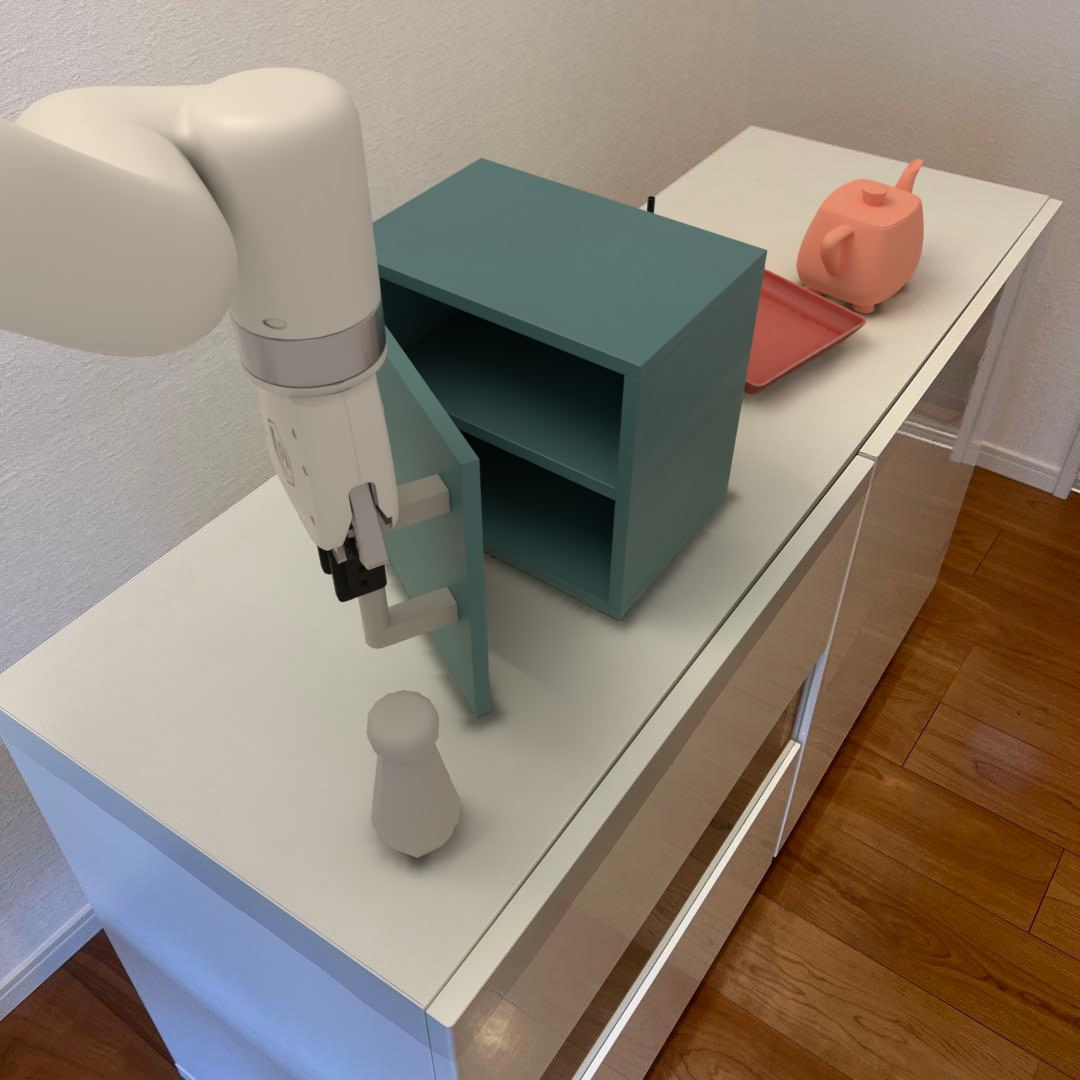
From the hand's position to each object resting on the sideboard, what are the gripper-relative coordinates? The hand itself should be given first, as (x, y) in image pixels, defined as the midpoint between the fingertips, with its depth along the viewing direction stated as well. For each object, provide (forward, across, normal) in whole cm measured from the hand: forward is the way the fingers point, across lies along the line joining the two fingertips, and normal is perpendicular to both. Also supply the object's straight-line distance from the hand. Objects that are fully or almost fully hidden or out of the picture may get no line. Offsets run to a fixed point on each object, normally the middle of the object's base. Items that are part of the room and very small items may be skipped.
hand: (354, 576), depth 68 cm
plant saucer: (+16, -28, +52) cm, 61 cm away
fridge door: (+15, -10, +4) cm, 19 cm away
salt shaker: (+15, +10, -1) cm, 18 cm away
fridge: (+15, -16, +22) cm, 32 cm away
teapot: (+16, -32, +70) cm, 78 cm away
